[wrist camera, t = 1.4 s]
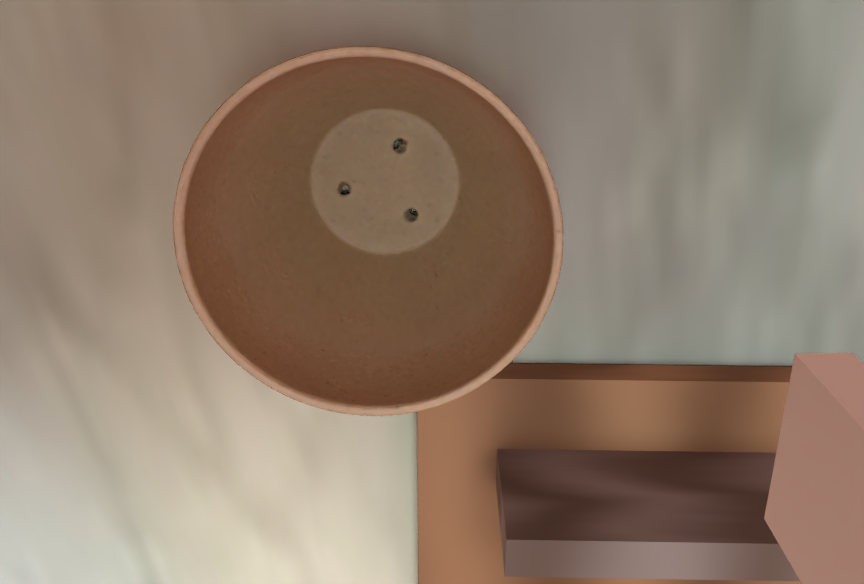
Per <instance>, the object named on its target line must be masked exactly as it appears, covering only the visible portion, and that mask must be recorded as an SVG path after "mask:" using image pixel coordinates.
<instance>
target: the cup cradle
mask: <svg viewBox="0 0 864 584" xmlns="http://www.w3.org/2000/svg"><path fill="white" fill-rule="evenodd" d="M791 372H792V367H782V366H697V365H612V364H527V363H509V364H508V365H507V366H506V367H505V368H503V369H502V370H501V371H500V372H499V373H497V374H496V375H495V376H494V377H492V378H491V379H490V380H488V381H487V382H485V383H484V384H482V385H481V386H480V387H478V388H476V389H475V390H473V391H471V392H469V393H468V394H466V395H464V396H461V397H459V398H457V399H455V400H452V401H450V402H447V403H444V404H441V405H439V406H436V407H433V408H429V409H425V410H421V411H417V429H418V584H802V583H801V581H800V580H799V578H798V576H797V575H796V573H795V571H794V569H793V568H792V566H791V564H790V562H789V561H788V559H787V557H786V556H785V554H784V552H783V550H782V549H781V547H780V545H779V543H778V542H777V540H776V538H775V537H774V535H773V533H772V531H771V530H770V528H769V526H768V525H767V523H766V521H765V519H764V516H765V511H766V505H767V500H768V495H769V489H770V484H771V479H772V473H773V468H774V462H775V457H776V452H777V446H778V441H779V436H780V430H781V425H782V420H783V414H784V409H785V404H786V398H787V393H788V388H789V382H790V377H791Z"/></svg>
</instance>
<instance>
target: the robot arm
mask: <svg viewBox="0 0 864 584" xmlns="http://www.w3.org/2000/svg"><path fill="white" fill-rule="evenodd" d="M764 519H765V521H766V523H767V525H768V526H769V528H770V530H771V531H772V533H773V535H774V537H775V538H776V540H777V542H778V543H779V545H780V547H781V549H782V550H783V552H784V554H785V556H786V557H787V559H788V561H789V562H790V564H791V566H792V568H793V569H794V571H795V573H796V575H797V576H798V578H799V580H800V581H801V583H802V584H864V363H863V362H861V361H860V360H859V359H858V358H857V357H856V356H855V355H854V354H853V353H796V354H795V356H794V361H793V366H792V372H791V377H790V382H789V388H788V393H787V398H786V404H785V409H784V414H783V420H782V425H781V430H780V436H779V441H778V446H777V452H776V457H775V462H774V468H773V473H772V479H771V484H770V489H769V495H768V500H767V505H766V511H765V516H764Z"/></svg>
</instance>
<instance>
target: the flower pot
mask: <svg viewBox="0 0 864 584" xmlns="http://www.w3.org/2000/svg"><path fill="white" fill-rule="evenodd" d="M396 140H398V141H399V147H398V148H396V149H394V143H395V141H396ZM342 190H348V191H349V194H346V195H343V194H341V191H342ZM410 209H414V210H415V211H416V212H417V215H413V214H411V212H410ZM173 231H174V246H175V253H176V258H177V263H178V268H179V272H180V275H181V277H182V281H183V284H184V287H185V290H186V293H187V295H188V297H189V300H190V302H191V304H192V305H193V307H194V309H195V311H196V313H197V315H198V316H199V318H200V319H201V321H202V322H203V324H204V326H205V327H206V329H207V330H208V332H209V333H210V335H211V336H212V337H213V338H214V340H215V341H216V342H217V343H218V344H219V346H220V347H221V348H222V349H223V350H224V351H225V352H226V353H227V354H228V355H229V356H230V357H231V358H232V359H233V360H234V361H235V362H236V363H237V364H238V365H240V366H241V367H242V368H243V369H245V370H246V371H247V372H248V373H250V374H251V375H252V376H254V377H255V378H256V379H258V380H259V381H261V382H262V383H264V384H266V385H267V386H269V387H270V388H272V389H274V390H276V391H278V392H280V393H282V394H284V395H286V396H288V397H290V398H292V399H294V400H297V401H300V402H302V403H305V404H308V405H311V406H314V407H318V408H321V409H325V410H328V411H333V412H338V413H345V414H352V415H367V416H389V415H399V414H405V413H411V412H417V411H421V410H425V409H429V408H433V407H436V406H439V405H441V404H444V403H447V402H450V401H452V400H455V399H457V398H459V397H461V396H464V395H466V394H468V393H469V392H471V391H473V390H475V389H476V388H478V387H480V386H481V385H482V384H484V383H485V382H487V381H488V380H490V379H491V378H492V377H494V376H495V375H496V374H497V373H499V372H500V371H501V370H502V369H503V368H505V367H506V366H507V365H508V364H509V363H510V362H511V361H512V360H513V359H514V358H515V357H516V356H517V355H518V354H519V353H520V352H521V350H522V349H523V348H524V347H525V346H526V344H527V343H528V342H529V340H530V339H531V337H532V336H533V335H534V333H535V332H536V330H537V328H538V327H539V325H540V324H541V322H542V320H543V318H544V316H545V315H546V312H547V310H548V308H549V305H550V303H551V301H552V299H553V296H554V293H555V290H556V287H557V283H558V279H559V275H560V270H561V264H562V255H563V221H562V214H561V208H560V201H559V197H558V194H557V190H556V187H555V183H554V180H553V177H552V175H551V172H550V170H549V167H548V165H547V162H546V160H545V158H544V156H543V154H542V152H541V150H540V149H539V147H538V145H537V144H536V142H535V140H534V139H533V137H532V136H531V134H530V133H529V132H528V130H527V129H526V128H525V126H524V125H523V124H522V122H521V121H520V120H519V119H518V118H517V116H516V115H515V114H514V113H513V112H512V111H511V110H510V109H509V108H508V107H507V106H506V105H505V104H504V103H503V102H502V101H501V100H500V99H499V98H498V97H497V96H496V95H494V94H493V93H492V92H491V91H489V90H488V89H487V88H485V87H484V86H483V85H481V84H480V83H478V82H477V81H475V80H474V79H472V78H471V77H469V76H468V75H466V74H464V73H462V72H461V71H459V70H457V69H455V68H452V67H450V66H448V65H446V64H444V63H441V62H439V61H436V60H434V59H431V58H429V57H426V56H423V55H419V54H415V53H412V52H408V51H402V50H397V49H391V48H379V47H342V48H334V49H327V50H322V51H317V52H313V53H309V54H306V55H302V56H299V57H296V58H293V59H290V60H288V61H285V62H283V63H281V64H279V65H277V66H274V67H273V68H271V69H269V70H267V71H265V72H263V73H261V74H259V75H258V76H256V77H255V78H253V79H251V80H250V81H249V82H247V83H246V84H245V85H244V86H242V87H241V88H240V89H239V90H238V91H236V92H235V93H234V94H233V95H232V96H231V97H230V98H229V99H227V100H226V101H225V102H224V103H223V104H222V105H221V106H220V107H219V109H218V110H217V111H216V112H215V113H214V114H213V116H212V117H211V118H210V119H209V120H208V122H207V123H206V124H205V126H204V127H203V129H202V130H201V132H200V134H199V135H198V137H197V138H196V140H195V142H194V144H193V146H192V148H191V150H190V152H189V154H188V157H187V159H186V161H185V163H184V166H183V169H182V172H181V175H180V179H179V183H178V188H177V193H176V199H175V204H174V213H173Z"/></svg>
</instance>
